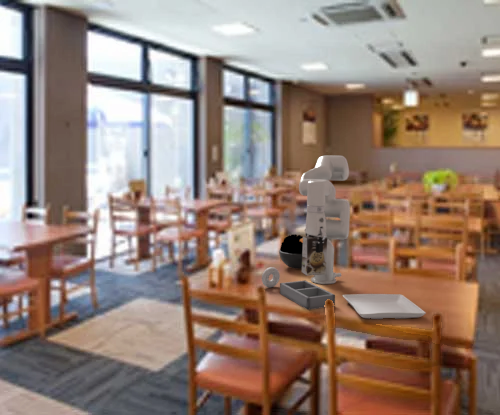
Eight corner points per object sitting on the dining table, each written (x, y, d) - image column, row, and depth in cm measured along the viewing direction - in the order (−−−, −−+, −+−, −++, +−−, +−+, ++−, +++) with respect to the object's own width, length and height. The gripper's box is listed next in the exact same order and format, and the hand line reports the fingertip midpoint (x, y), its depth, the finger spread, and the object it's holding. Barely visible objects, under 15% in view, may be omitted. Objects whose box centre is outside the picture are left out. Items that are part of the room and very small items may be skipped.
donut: (264, 289, 243) (264, 269, 242) (260, 288, 246) (260, 267, 245) (280, 286, 249) (281, 266, 247) (276, 285, 252) (277, 265, 250)
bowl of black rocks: (296, 262, 301) (297, 231, 299) (321, 269, 286) (322, 235, 284) (271, 267, 288) (272, 234, 286) (296, 274, 273) (297, 239, 271)
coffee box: (306, 276, 216) (307, 238, 215) (301, 272, 223) (302, 236, 221) (326, 274, 219) (327, 237, 217) (320, 271, 225) (321, 235, 223)
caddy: (279, 293, 237) (280, 283, 236) (304, 290, 242) (305, 280, 242) (307, 309, 214) (307, 298, 213) (334, 306, 219) (335, 294, 218)
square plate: (426, 321, 202) (427, 312, 201) (359, 322, 200) (359, 313, 199) (401, 301, 229) (401, 292, 228) (341, 301, 227) (341, 293, 226)
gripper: (334, 211, 211) (333, 253, 213) (312, 207, 227) (311, 246, 229) (318, 212, 208) (317, 255, 210) (298, 207, 224) (297, 247, 226)
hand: (314, 250), depth 220 cm, fingers closed on coffee box, 6 cm apart
